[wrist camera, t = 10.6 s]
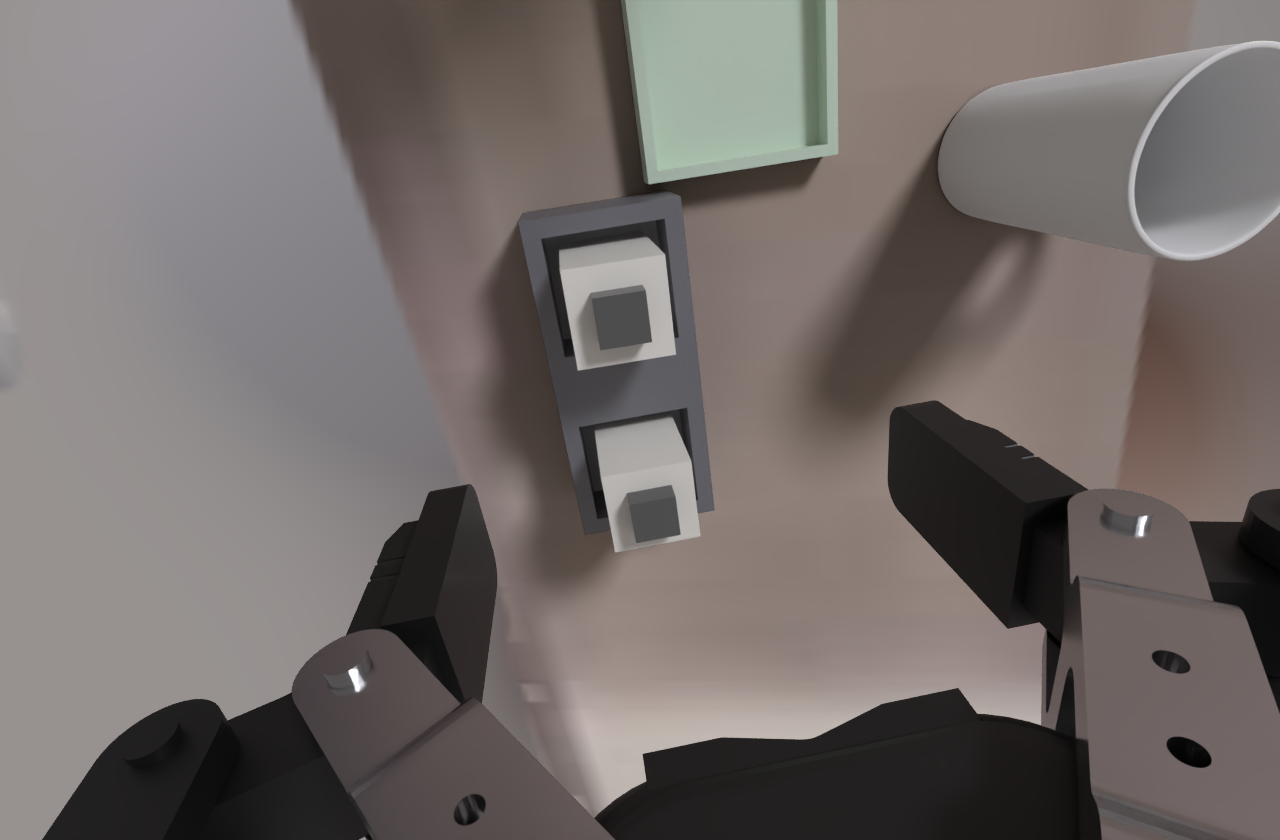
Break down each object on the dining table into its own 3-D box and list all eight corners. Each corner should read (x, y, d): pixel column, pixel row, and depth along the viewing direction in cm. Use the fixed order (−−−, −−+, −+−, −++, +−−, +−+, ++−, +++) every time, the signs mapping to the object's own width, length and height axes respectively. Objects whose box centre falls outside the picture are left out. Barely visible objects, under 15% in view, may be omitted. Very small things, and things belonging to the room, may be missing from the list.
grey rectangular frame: (522, 213, 30) (517, 222, 26) (665, 190, 30) (680, 196, 27) (581, 496, 37) (584, 534, 33) (698, 474, 37) (714, 510, 33)
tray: (599, -166, 25) (602, -185, 23) (819, -194, 25) (835, -215, 24) (644, 182, 30) (648, 184, 29) (824, 153, 31) (838, 154, 29)
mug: (918, 222, 33) (1101, 262, 22) (945, 76, 30) (1169, 37, 19) (1094, 221, 34) (1351, 259, 23) (1134, 80, 31) (1449, 46, 20)
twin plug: (592, 414, 33) (602, 489, 26) (665, 401, 34) (696, 471, 26) (604, 478, 35) (617, 566, 28) (674, 465, 35) (705, 548, 28)
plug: (558, 243, 30) (559, 275, 22) (641, 231, 30) (669, 258, 23) (573, 324, 31) (578, 379, 24) (651, 312, 32) (680, 362, 24)
